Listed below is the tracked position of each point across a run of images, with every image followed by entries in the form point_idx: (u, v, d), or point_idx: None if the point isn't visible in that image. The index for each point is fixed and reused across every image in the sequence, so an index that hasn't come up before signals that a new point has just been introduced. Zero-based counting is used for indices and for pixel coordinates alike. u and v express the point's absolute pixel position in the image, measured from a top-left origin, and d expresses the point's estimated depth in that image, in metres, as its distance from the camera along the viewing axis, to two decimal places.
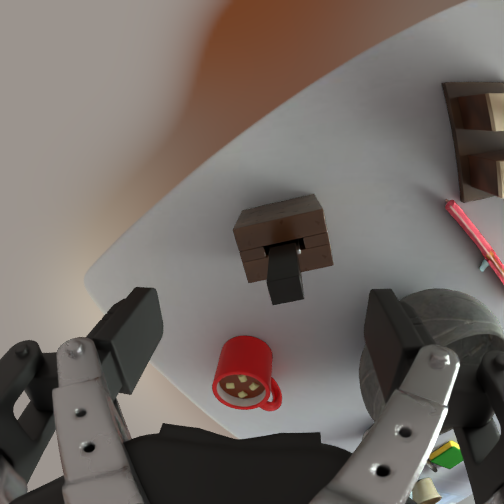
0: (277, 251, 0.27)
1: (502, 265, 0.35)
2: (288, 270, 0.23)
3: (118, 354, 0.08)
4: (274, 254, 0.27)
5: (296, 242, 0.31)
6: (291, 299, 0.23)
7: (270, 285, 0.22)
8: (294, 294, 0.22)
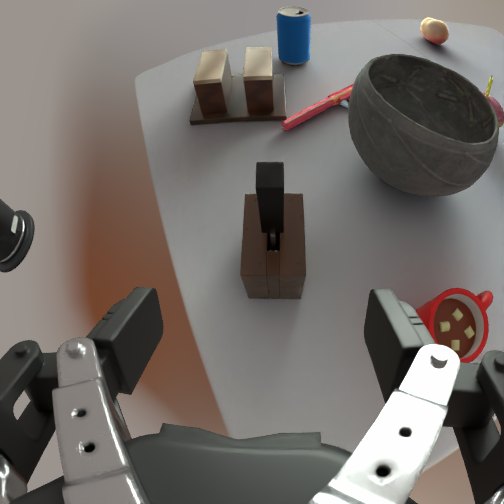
0: None
1: (344, 88, 0.47)
2: None
3: (118, 354, 0.08)
4: None
5: None
6: (280, 171, 0.22)
7: (260, 185, 0.22)
8: (275, 167, 0.22)
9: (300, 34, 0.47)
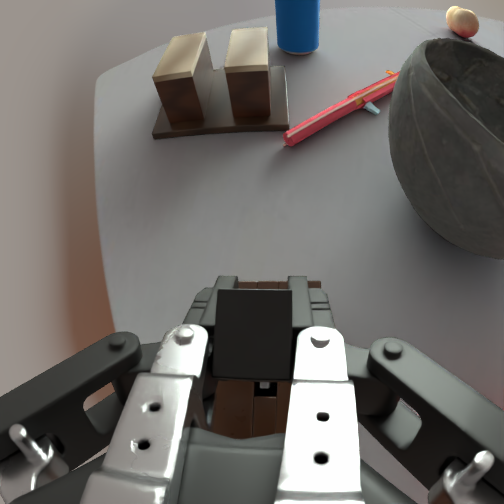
0: None
1: None
2: None
3: None
4: None
5: None
6: (284, 323, 0.08)
7: (223, 369, 0.07)
8: (268, 310, 0.08)
9: (306, 13, 0.33)
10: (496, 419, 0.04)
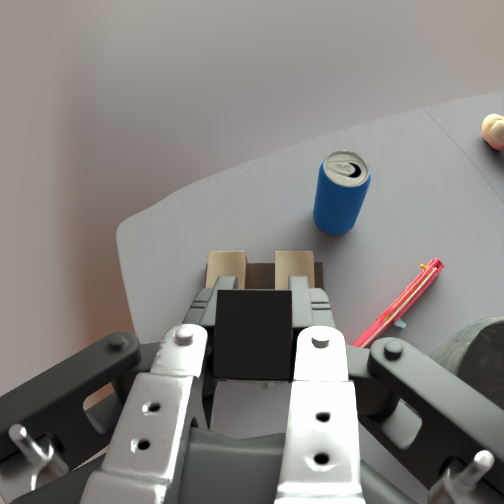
0: None
1: (401, 299, 0.38)
2: None
3: None
4: None
5: None
6: (284, 323, 0.08)
7: (224, 370, 0.07)
8: (268, 310, 0.08)
9: (352, 207, 0.37)
10: (496, 419, 0.04)
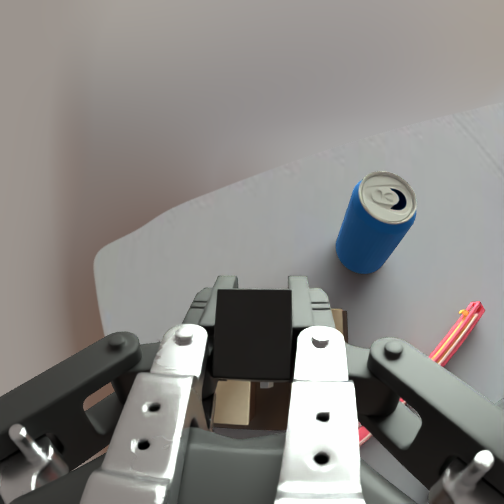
0: None
1: (439, 355, 0.28)
2: None
3: None
4: None
5: None
6: (283, 323, 0.08)
7: (224, 369, 0.07)
8: (268, 310, 0.08)
9: (391, 246, 0.28)
10: (496, 419, 0.04)
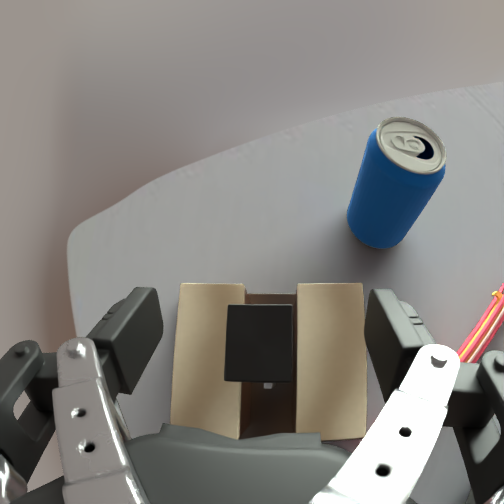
0: None
1: (473, 346, 0.22)
2: None
3: (118, 354, 0.08)
4: None
5: None
6: (285, 334, 0.09)
7: (234, 374, 0.09)
8: (272, 322, 0.09)
9: (417, 208, 0.22)
10: None
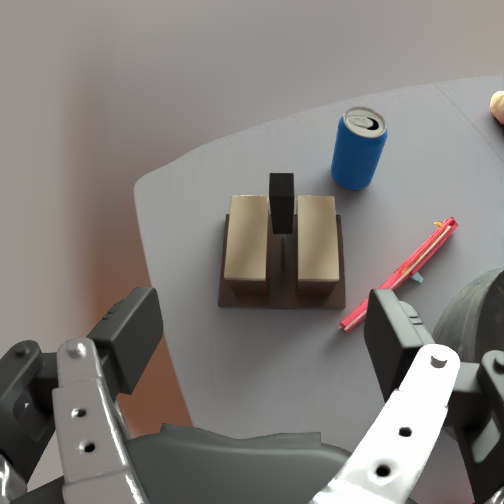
0: None
1: (418, 253, 0.38)
2: None
3: (118, 354, 0.08)
4: None
5: None
6: (291, 181, 0.25)
7: (273, 194, 0.24)
8: (286, 178, 0.25)
9: (370, 160, 0.37)
10: None
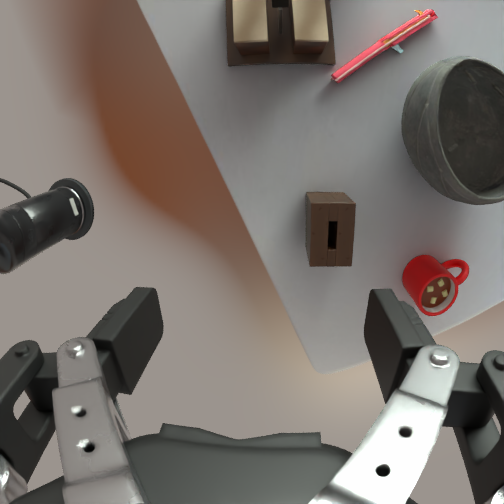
0: None
1: (399, 30, 0.34)
2: None
3: (118, 354, 0.08)
4: None
5: None
6: None
7: None
8: None
9: None
10: None
